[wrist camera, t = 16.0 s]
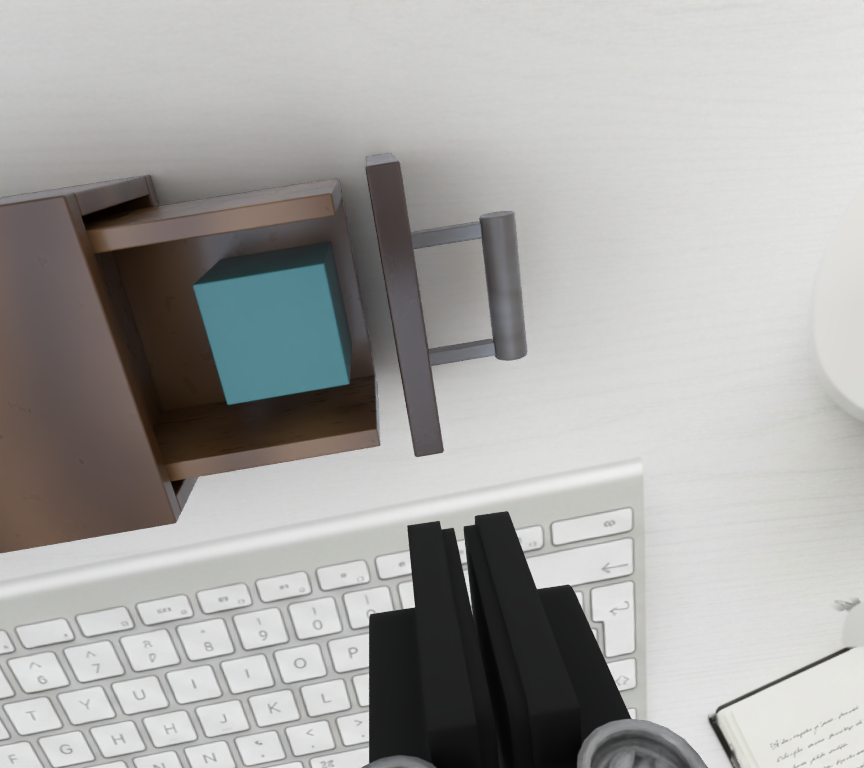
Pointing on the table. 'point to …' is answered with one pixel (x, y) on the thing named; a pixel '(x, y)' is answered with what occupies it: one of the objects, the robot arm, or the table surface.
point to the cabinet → (71, 380)
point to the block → (276, 322)
